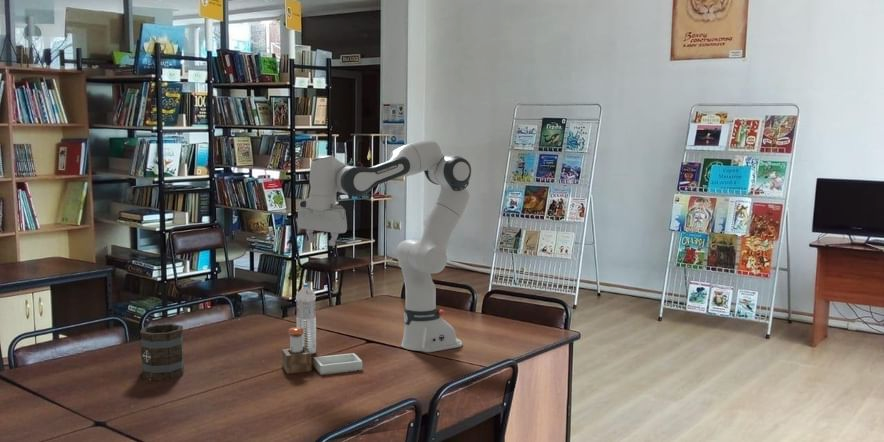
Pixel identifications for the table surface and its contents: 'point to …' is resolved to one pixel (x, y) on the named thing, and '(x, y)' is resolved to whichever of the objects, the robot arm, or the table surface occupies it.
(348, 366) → the tray
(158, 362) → the mug
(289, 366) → the block
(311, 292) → the water bottle
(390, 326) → the table surface
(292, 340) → the pin
